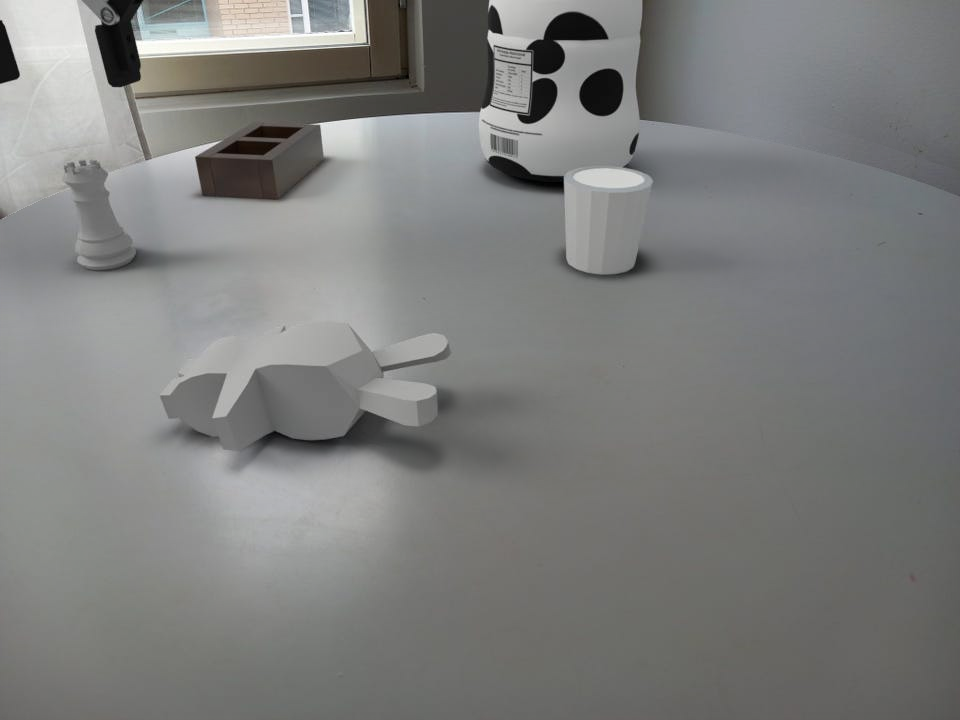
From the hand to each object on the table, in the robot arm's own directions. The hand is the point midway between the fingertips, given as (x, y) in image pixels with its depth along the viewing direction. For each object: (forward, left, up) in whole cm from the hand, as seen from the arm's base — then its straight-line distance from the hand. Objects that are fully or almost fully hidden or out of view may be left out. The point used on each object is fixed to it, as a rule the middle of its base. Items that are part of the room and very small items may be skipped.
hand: (63, 83), depth 54 cm
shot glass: (+40, +6, -14) cm, 43 cm away
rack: (+4, +24, -14) cm, 28 cm away
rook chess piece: (0, 0, -14) cm, 14 cm away
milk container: (+35, +31, -14) cm, 49 cm away
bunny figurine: (+24, -19, -14) cm, 33 cm away
